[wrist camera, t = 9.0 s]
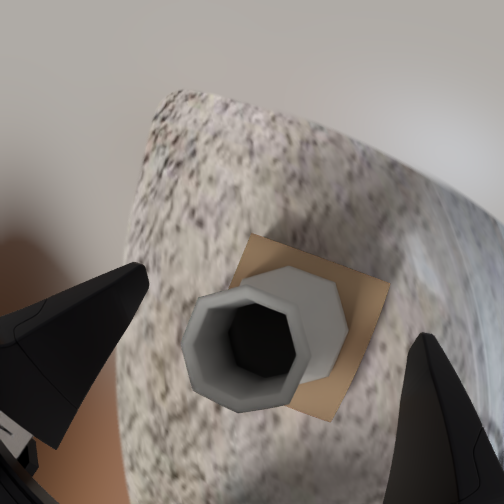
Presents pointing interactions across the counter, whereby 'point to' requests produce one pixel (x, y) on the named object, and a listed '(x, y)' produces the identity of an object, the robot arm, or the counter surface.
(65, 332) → the robot arm
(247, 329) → the flask
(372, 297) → the square wooden block
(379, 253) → the counter surface
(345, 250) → the counter surface
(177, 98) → the counter surface
